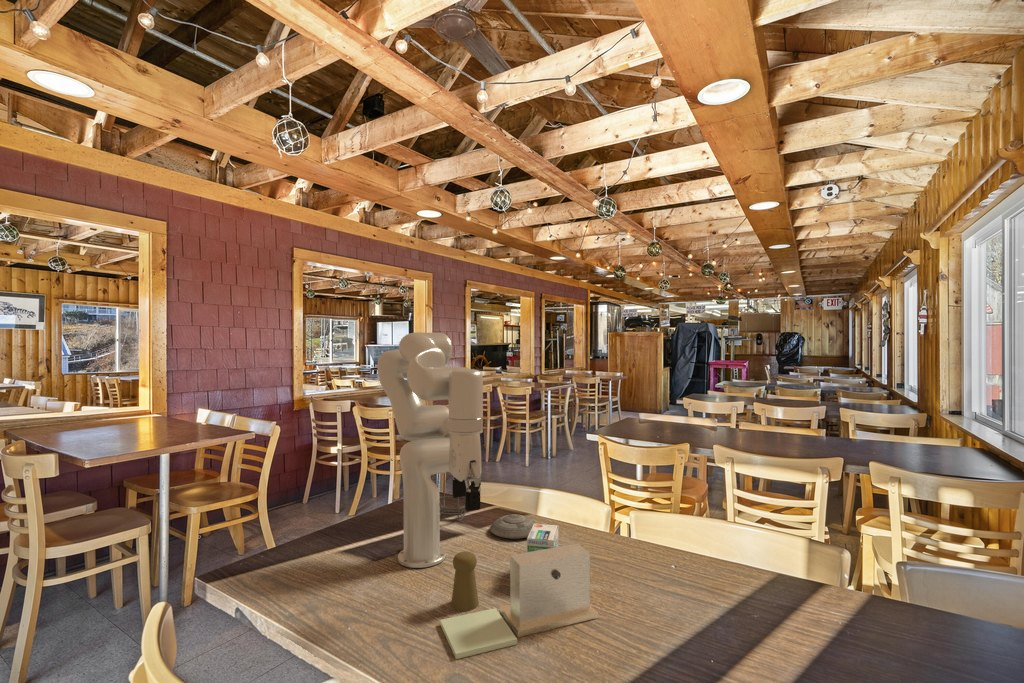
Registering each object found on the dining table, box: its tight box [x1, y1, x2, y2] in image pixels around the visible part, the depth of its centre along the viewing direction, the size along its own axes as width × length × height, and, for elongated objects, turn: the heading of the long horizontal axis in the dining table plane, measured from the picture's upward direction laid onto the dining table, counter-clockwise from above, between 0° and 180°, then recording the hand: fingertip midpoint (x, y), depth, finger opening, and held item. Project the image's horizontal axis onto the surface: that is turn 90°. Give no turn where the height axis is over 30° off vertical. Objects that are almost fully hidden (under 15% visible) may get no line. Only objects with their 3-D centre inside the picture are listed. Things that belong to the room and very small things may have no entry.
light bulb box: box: [526, 523, 560, 552], centre depth 123 cm, size 11×7×11 cm, turn 168°
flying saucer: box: [489, 513, 538, 540], centre depth 151 cm, size 15×15×6 cm
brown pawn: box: [450, 551, 480, 612], centre depth 109 cm, size 6×6×11 cm
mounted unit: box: [499, 543, 599, 638], centre depth 104 cm, size 10×18×13 cm, turn 112°
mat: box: [439, 607, 518, 660], centre depth 97 cm, size 12×12×1 cm
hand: (465, 503), depth 109 cm, fingers open, 9 cm apart
